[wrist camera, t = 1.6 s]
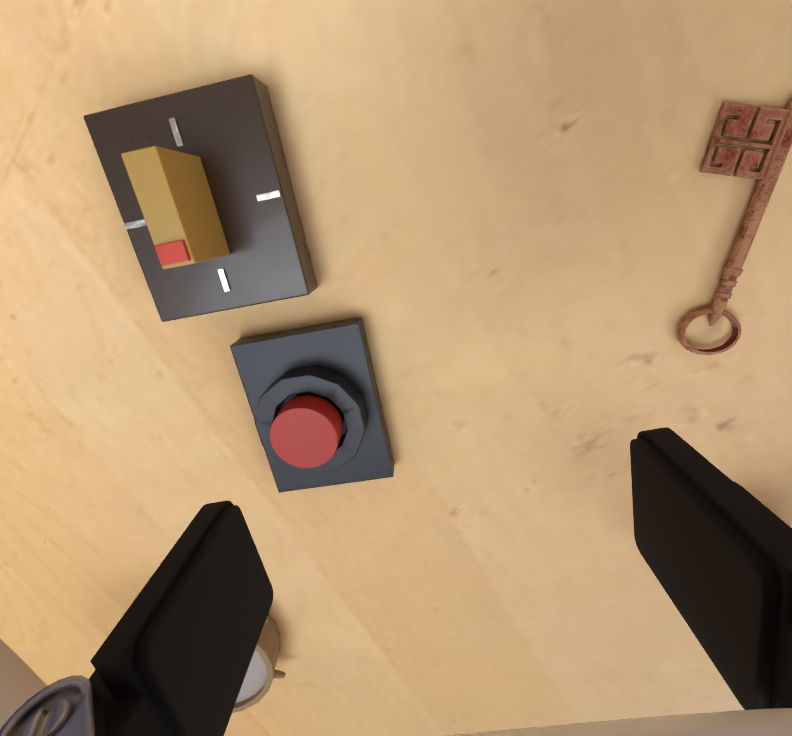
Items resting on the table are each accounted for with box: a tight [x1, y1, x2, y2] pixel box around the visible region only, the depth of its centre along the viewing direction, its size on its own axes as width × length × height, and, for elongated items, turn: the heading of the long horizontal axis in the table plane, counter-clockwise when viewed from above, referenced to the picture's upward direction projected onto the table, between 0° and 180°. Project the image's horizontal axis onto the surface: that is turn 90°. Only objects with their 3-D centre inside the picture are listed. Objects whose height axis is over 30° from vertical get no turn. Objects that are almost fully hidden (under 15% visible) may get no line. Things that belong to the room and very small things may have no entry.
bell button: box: [270, 395, 343, 468], centre depth 28 cm, size 4×4×2 cm
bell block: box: [230, 317, 394, 492], centre depth 31 cm, size 12×9×4 cm
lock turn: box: [121, 146, 230, 269], centre depth 23 cm, size 6×2×5 cm, turn 11°
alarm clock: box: [232, 616, 285, 713], centre depth 40 cm, size 11×5×15 cm
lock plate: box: [84, 75, 317, 322], centre depth 27 cm, size 12×10×3 cm
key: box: [677, 98, 792, 355], centre depth 26 cm, size 6×1×15 cm
